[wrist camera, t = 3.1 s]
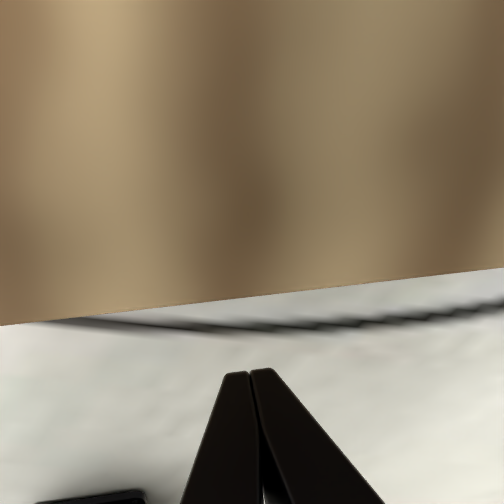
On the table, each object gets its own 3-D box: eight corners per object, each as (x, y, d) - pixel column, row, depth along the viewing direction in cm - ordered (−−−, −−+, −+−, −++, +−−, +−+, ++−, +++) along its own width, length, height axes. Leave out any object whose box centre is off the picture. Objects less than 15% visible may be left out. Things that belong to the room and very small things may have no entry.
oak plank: (-121, 323, 14) (-172, 345, 12) (-202, -20, 13) (-276, -56, 11) (531, 249, 16) (576, 258, 14) (534, -56, 15) (585, -92, 13)
